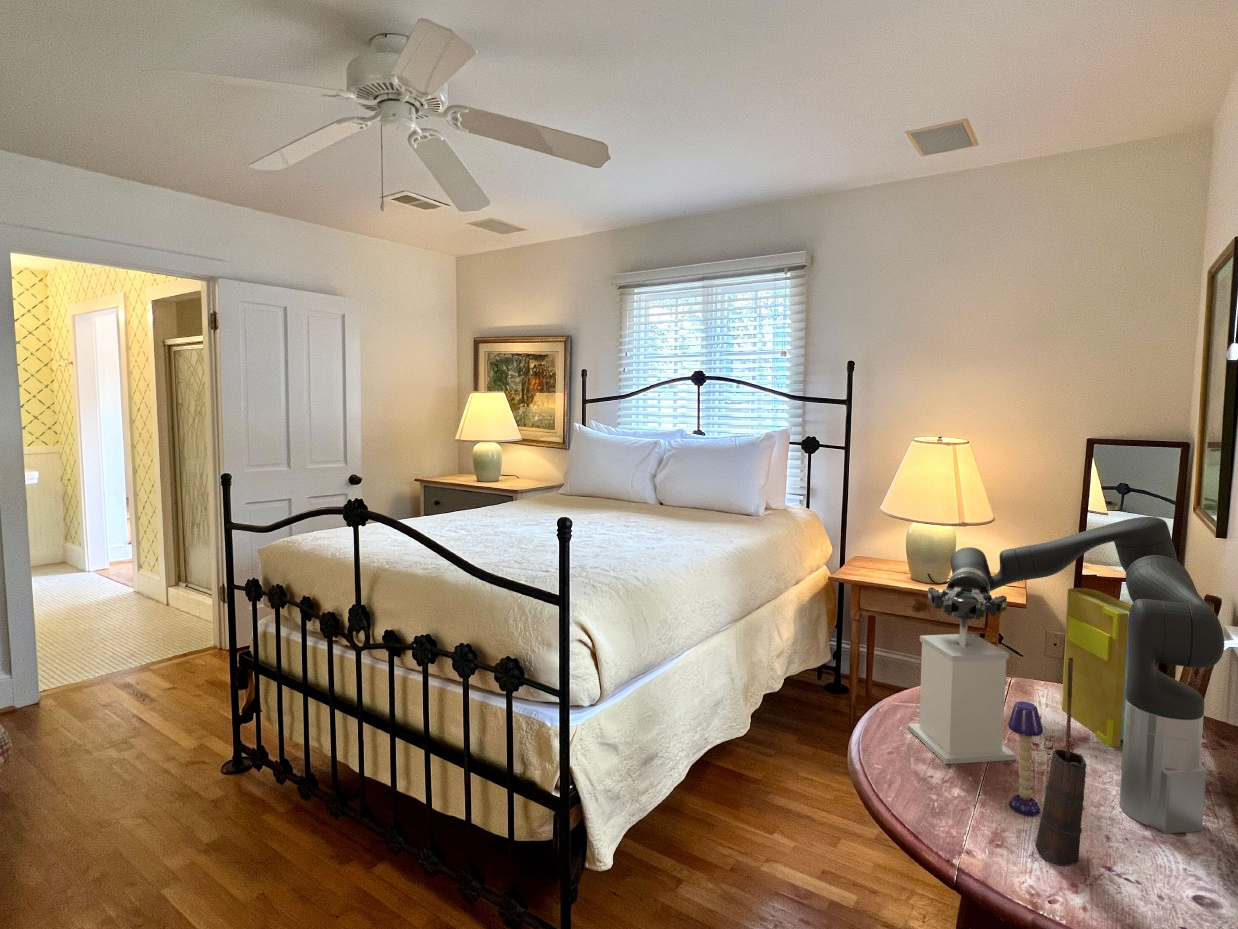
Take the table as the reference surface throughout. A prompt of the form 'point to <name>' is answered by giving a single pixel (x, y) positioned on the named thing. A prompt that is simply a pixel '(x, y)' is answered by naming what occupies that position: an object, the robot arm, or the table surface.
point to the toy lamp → (1025, 755)
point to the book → (1097, 662)
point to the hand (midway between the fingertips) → (963, 611)
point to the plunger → (963, 615)
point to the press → (962, 699)
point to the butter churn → (1063, 800)
